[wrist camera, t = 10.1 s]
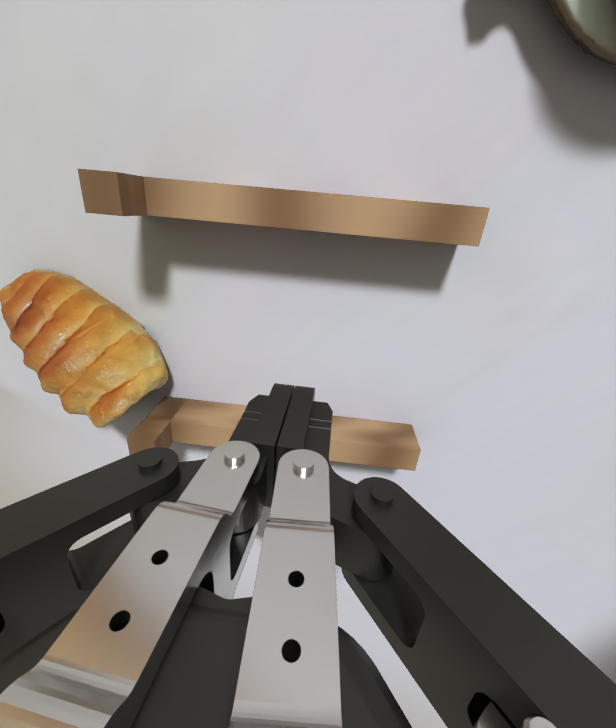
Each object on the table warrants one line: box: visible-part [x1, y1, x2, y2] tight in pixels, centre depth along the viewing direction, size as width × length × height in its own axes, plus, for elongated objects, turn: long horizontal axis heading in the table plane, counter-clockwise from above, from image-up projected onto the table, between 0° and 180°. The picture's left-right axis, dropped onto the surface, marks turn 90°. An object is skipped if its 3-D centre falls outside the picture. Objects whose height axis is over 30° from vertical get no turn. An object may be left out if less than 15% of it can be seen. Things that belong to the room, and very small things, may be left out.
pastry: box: [0, 270, 169, 427], centre depth 19 cm, size 9×7×4 cm
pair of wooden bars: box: [78, 169, 489, 471], centre depth 17 cm, size 16×14×4 cm
